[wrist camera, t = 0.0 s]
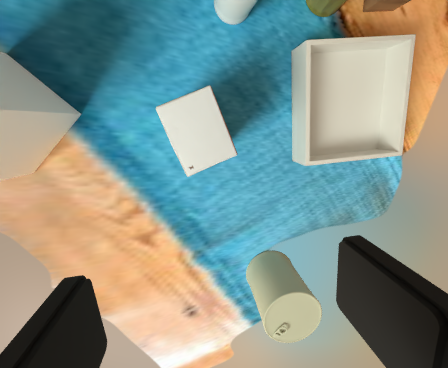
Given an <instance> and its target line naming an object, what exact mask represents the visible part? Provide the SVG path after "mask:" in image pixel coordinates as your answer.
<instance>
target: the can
mask: <svg viewBox="0 0 448 368" xmlns="http://www.w3.org/2000/svg"><path fill="white" fill-rule="evenodd" d="M246 278H247V281H248V283H249V285H250V287H251V290H252V293H253V295H254V298H255V301H256V304H257V307H258V310H259V313H260V316H261V319H262V322H263V326H264V329H265V331H266V333H267V334H268V336H269V337H271V338H272V339H273V340H276V341H278V342H282V343H291V342H297V341H300V340H302V339H304V338H306V337H307V336H309V335H310V334H311V333H312V332H313V331H314V330H315V329H316V328H317V326H318V325H319V323H320V320H321V316H322V308H321V305H320V303H319V301H318V300H317V299H316V298H315V296H314V295H313V294H312V292H311V291H310V290H309V289H308V287H307V285H306V284H305V283H304V281H303V280H302V278H301V277H300V276H299V274H298V273H297V271H296V270H295V268H294V267H293V266H292V264H291V261H290V260H289V258H288V257H287V256H286V255H285V254H283V253H281V252H278V251H266V252H263V253H260V254H258V255H257V256H256V257H254V258H253V259H252V260H251V262H250V263H249V265H248V267H247V271H246Z"/></svg>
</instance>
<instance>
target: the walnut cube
mask: <svg viewBox="0 0 448 368" xmlns="http://www.w3.org/2000/svg"><path fill="white" fill-rule="evenodd" d="M409 1H411V0H364V5H363V12H375V11H393V10H395V9H397V8H398V7H400V6H402V5H404V4H405V3H407V2H409Z"/></svg>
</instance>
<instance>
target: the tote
mask: <svg viewBox="0 0 448 368" xmlns="http://www.w3.org/2000/svg"><path fill="white" fill-rule="evenodd" d="M415 36H416V34H413V35H394V36H375V37H356V38H337V39H318V40H306V41H305V42H303V43H302V44H301V45H299V46H298V47H296V48H295V49H294V50H292V161H294V162H297V163H299V164H302V165H305V166H308V165H318V164H327V163H336V162H345V161H354V160H363V159H372V158H381V157H391V156H400V155H402V150H403V141H404V133H405V124H406V115H407V106H408V97H409V89H410V80H411V71H412V62H413V54H414V45H415Z"/></svg>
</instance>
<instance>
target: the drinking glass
mask: <svg viewBox="0 0 448 368" xmlns="http://www.w3.org/2000/svg"><path fill="white" fill-rule="evenodd" d="M257 1H258V0H214V7H215V11H216V13H217V15H218V16H219V18H220V19H221V20H222V21H223V22H225V23H227V24H231V25H235V24H239V23H241V22H242V21H244V20H245V19H246V18H247V16H248V15H249V13H250V11H251V9H252V8H253V7H254V5H255V4H256V2H257Z"/></svg>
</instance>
